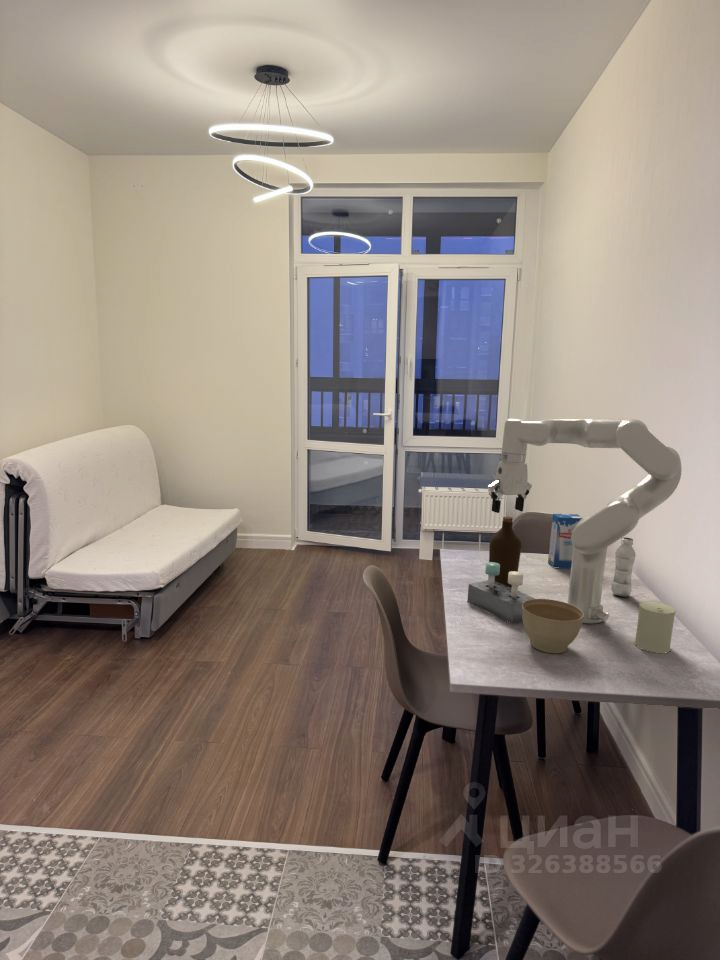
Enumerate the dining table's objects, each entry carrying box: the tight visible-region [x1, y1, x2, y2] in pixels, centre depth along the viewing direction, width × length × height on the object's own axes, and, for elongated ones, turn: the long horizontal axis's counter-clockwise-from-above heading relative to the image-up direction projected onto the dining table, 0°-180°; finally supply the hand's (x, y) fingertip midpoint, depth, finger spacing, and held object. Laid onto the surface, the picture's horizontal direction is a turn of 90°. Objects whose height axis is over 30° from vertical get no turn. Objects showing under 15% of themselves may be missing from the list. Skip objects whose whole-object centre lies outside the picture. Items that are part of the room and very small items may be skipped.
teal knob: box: [484, 561, 500, 589], centre depth 204 cm, size 4×4×9 cm
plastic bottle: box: [610, 536, 637, 598], centre depth 218 cm, size 6×7×20 cm
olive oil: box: [487, 516, 522, 588], centre depth 220 cm, size 11×11×25 cm
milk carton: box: [547, 513, 584, 569], centre depth 249 cm, size 10×6×20 cm, turn 94°
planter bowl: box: [522, 598, 584, 654], centre depth 175 cm, size 16×16×11 cm
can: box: [634, 600, 677, 654], centre depth 178 cm, size 9×9×12 cm
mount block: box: [466, 579, 536, 625], centre depth 201 cm, size 20×10×6 cm, turn 32°
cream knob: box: [508, 571, 524, 599], centre depth 196 cm, size 4×4×9 cm
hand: (507, 511), depth 205 cm, fingers open, 9 cm apart
